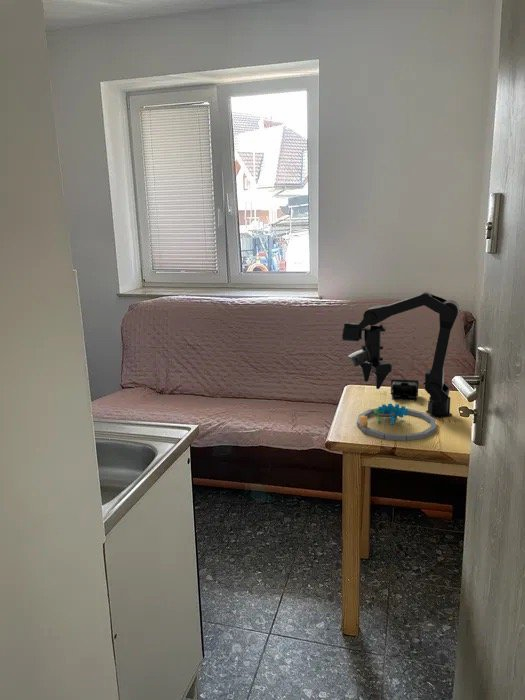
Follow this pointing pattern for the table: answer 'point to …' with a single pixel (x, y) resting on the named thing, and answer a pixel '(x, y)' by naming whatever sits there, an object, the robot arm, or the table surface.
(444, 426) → the table surface
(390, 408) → the blue spiky figure
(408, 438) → the ring
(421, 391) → the table surface
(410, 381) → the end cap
